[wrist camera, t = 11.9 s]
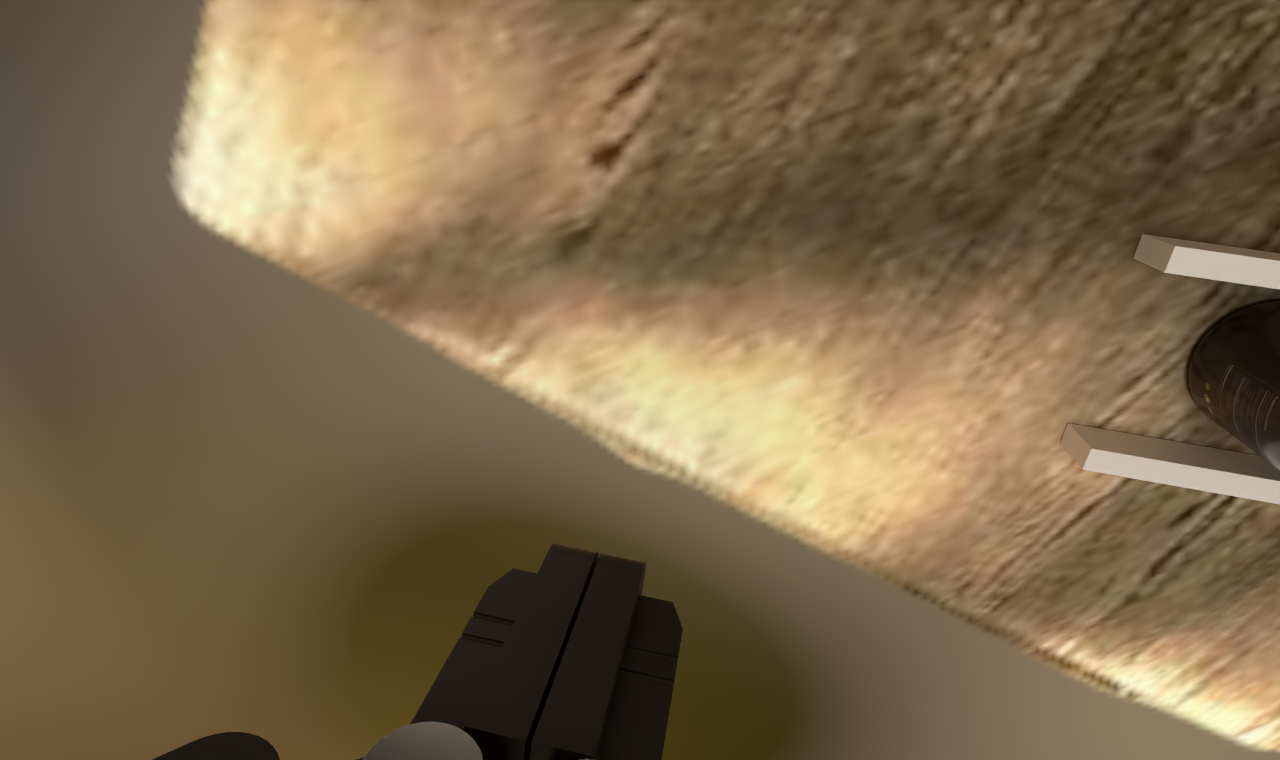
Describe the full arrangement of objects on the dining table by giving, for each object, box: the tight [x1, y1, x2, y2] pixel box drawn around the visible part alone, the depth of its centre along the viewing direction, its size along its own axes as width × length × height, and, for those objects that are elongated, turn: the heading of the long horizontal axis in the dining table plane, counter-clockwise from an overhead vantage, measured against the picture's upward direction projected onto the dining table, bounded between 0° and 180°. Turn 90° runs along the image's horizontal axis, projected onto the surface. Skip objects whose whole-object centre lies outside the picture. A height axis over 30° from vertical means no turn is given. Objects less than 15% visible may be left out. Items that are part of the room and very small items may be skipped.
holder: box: [1060, 234, 1280, 504], centre depth 33 cm, size 11×13×6 cm
